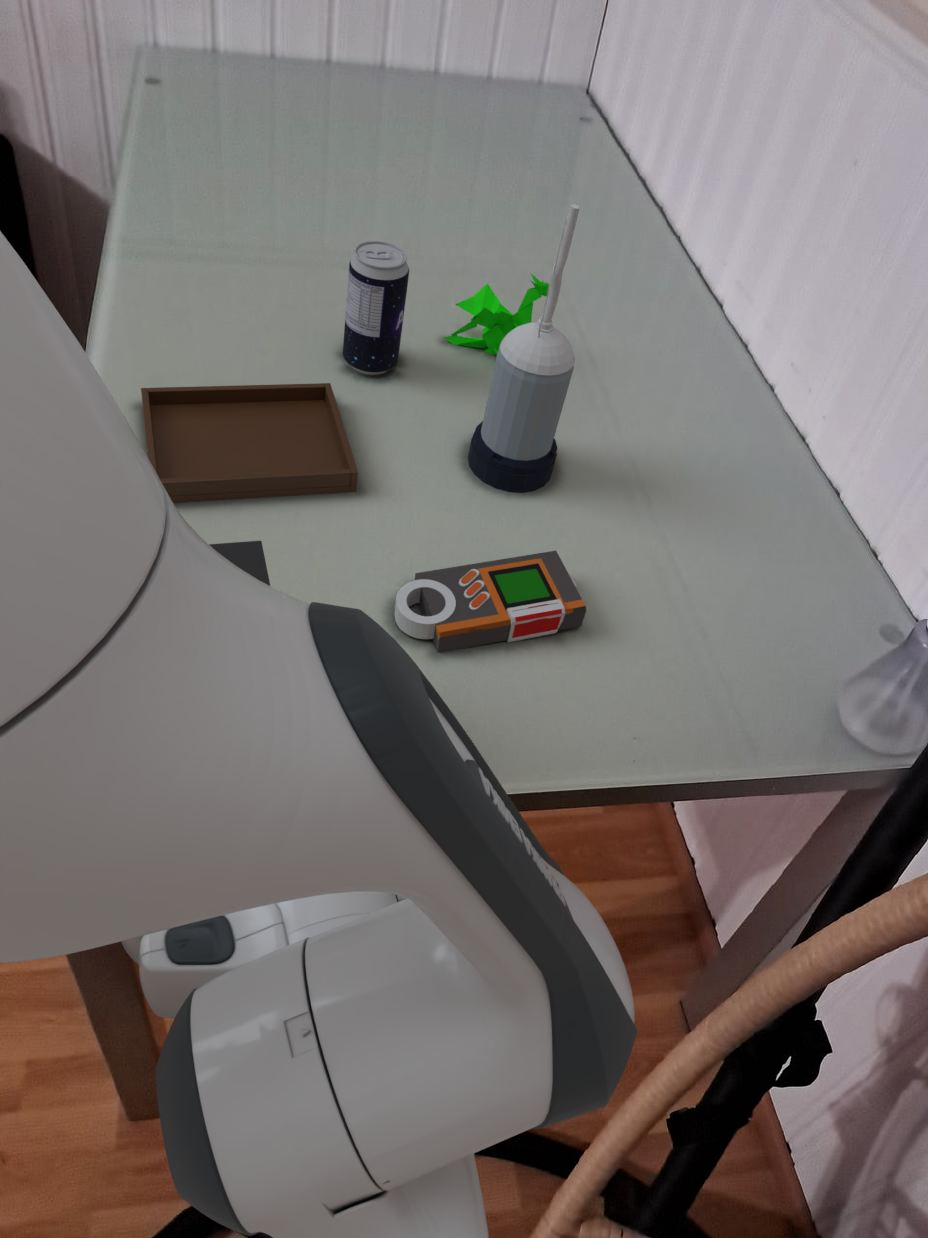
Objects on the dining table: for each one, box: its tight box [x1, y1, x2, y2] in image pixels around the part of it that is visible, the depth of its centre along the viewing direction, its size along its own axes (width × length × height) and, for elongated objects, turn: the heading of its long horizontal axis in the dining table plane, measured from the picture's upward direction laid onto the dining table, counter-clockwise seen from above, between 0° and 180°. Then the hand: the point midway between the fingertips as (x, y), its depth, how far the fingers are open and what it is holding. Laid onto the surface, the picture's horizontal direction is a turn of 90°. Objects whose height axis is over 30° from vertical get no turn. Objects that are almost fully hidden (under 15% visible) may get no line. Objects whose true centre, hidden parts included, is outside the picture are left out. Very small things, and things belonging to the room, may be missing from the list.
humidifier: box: [467, 203, 581, 494], centre depth 81 cm, size 8×8×25 cm
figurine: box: [443, 273, 550, 356], centre depth 100 cm, size 6×12×9 cm, turn 86°
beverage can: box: [342, 240, 410, 376], centre depth 94 cm, size 6×6×12 cm
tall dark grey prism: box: [208, 540, 271, 586], centre depth 62 cm, size 3×6×14 cm, turn 15°
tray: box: [140, 382, 359, 504], centre depth 85 cm, size 17×13×2 cm
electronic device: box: [394, 550, 587, 654], centre depth 76 cm, size 7×3×15 cm
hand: (264, 730), depth 57 cm, fingers open, 8 cm apart
